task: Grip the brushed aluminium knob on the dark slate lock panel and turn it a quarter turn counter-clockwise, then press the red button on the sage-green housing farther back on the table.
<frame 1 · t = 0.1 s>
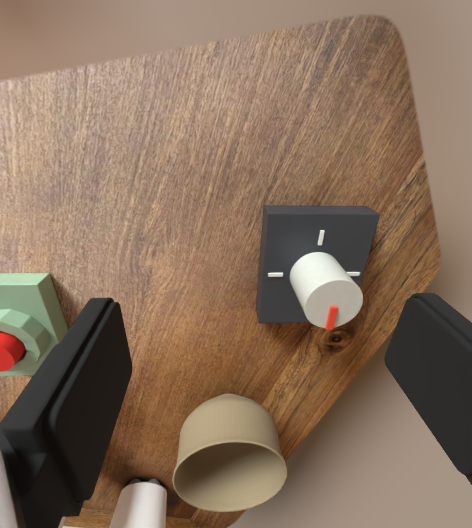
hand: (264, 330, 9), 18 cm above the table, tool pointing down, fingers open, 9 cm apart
lock knob: (323, 289, 24), point 5 cm above the table, hinge at 0.0°
button box: (27, 320, 30), on the table
bowl: (227, 400, 39), on the table
lock panel: (306, 261, 29), on the table
cup: (145, 486, 48), on the table
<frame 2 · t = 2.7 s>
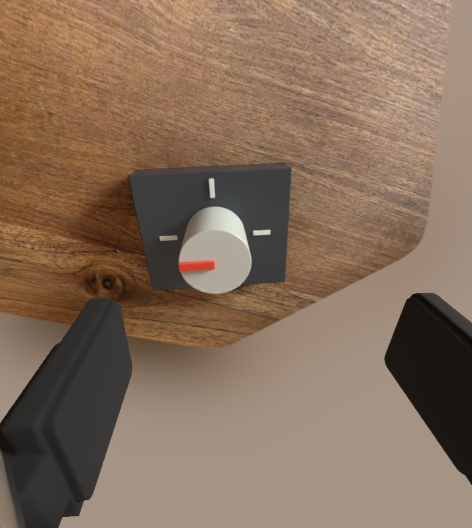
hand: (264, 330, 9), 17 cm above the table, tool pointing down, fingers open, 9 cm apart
lock knob: (215, 248, 20), point 5 cm above the table, hinge at 0.0°
lock panel: (215, 224, 25), on the table
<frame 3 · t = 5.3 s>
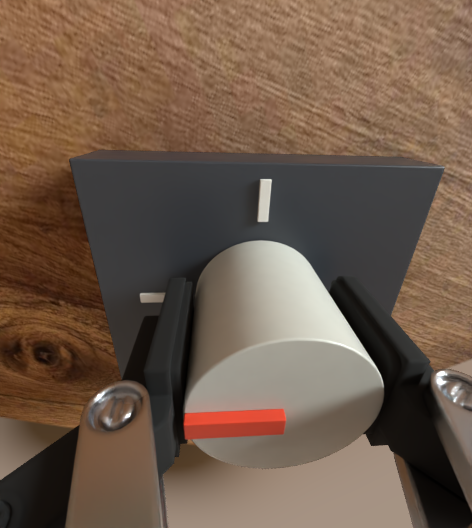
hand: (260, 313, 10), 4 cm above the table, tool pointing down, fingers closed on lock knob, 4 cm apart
lock knob: (267, 343, 9), point 5 cm above the table, hinge at 0.0°, touching gripper
lock panel: (249, 265, 13), on the table
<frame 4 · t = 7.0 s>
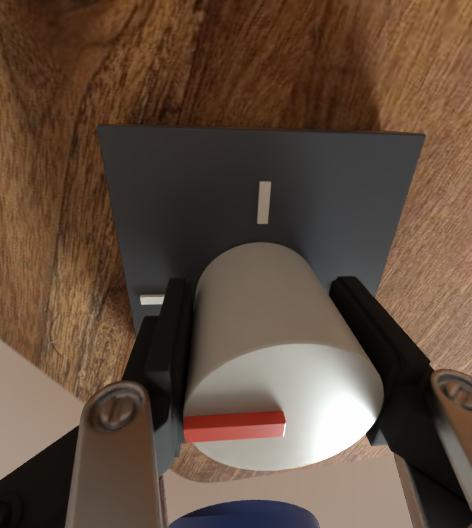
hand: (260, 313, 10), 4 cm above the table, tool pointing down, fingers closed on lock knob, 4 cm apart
lock knob: (267, 345, 9), point 5 cm above the table, hinge at 91.0°, touching gripper
lock panel: (249, 266, 13), on the table
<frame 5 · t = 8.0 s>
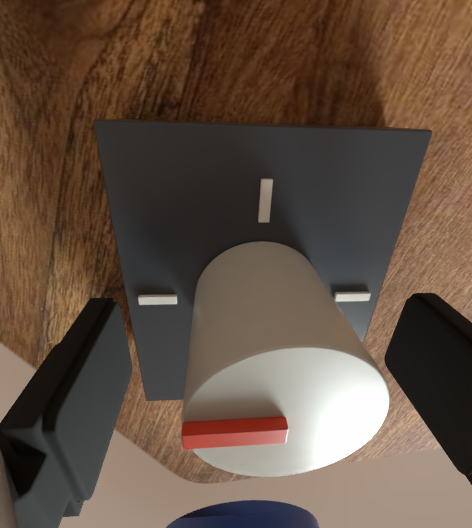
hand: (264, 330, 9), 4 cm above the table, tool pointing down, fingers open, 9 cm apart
lock knob: (269, 347, 8), point 5 cm above the table, hinge at 90.8°
lock panel: (250, 266, 13), on the table
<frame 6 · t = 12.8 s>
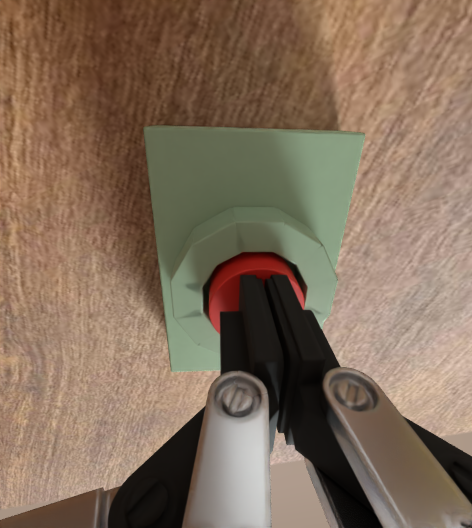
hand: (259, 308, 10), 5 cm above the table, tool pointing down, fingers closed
button: (254, 297, 11), point 4 cm above the table, slide at -0.5 cm, touching gripper
button box: (244, 255, 14), on the table
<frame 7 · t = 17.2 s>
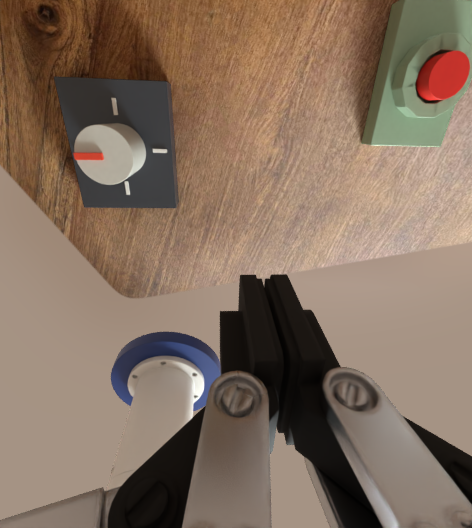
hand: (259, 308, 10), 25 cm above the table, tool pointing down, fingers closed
button: (442, 77, 25), point 4 cm above the table, slide at 0.1 cm
lock knob: (113, 152, 26), point 5 cm above the table, hinge at 90.8°
button box: (411, 82, 29), on the table
lock panel: (128, 147, 30), on the table
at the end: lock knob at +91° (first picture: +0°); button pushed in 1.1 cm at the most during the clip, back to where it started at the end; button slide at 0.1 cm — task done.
